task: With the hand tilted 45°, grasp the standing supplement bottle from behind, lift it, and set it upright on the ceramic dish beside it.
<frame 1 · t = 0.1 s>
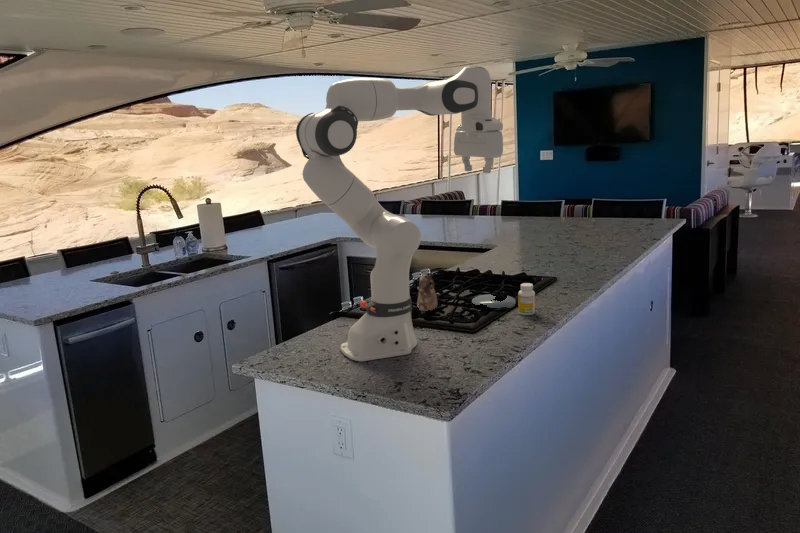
hand: (477, 172, 184), 48 cm above the table, tool pointing down, fingers open, 8 cm apart
figurine: (427, 308, 214), on the table
supplement bottle: (526, 313, 205), on the table
dish: (493, 303, 215), on the table
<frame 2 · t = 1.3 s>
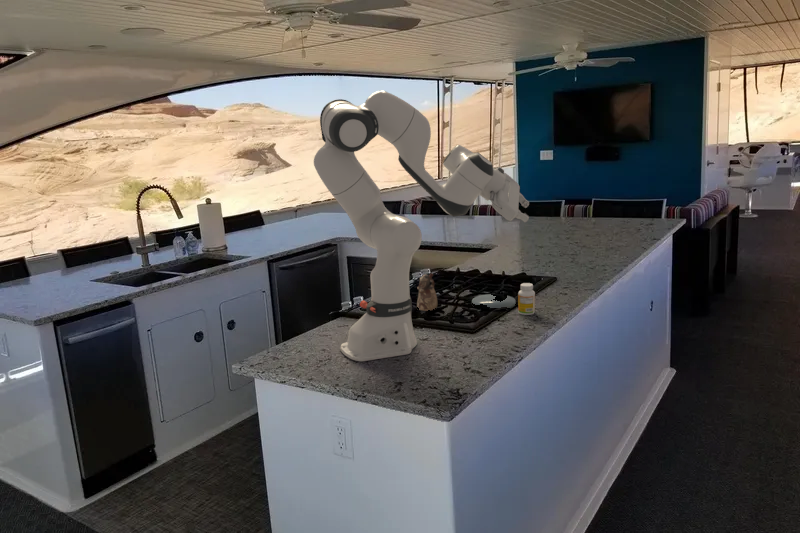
hand: (527, 212, 186), 35 cm above the table, tool tilted 50°, fingers open, 8 cm apart
nothing on the table moved.
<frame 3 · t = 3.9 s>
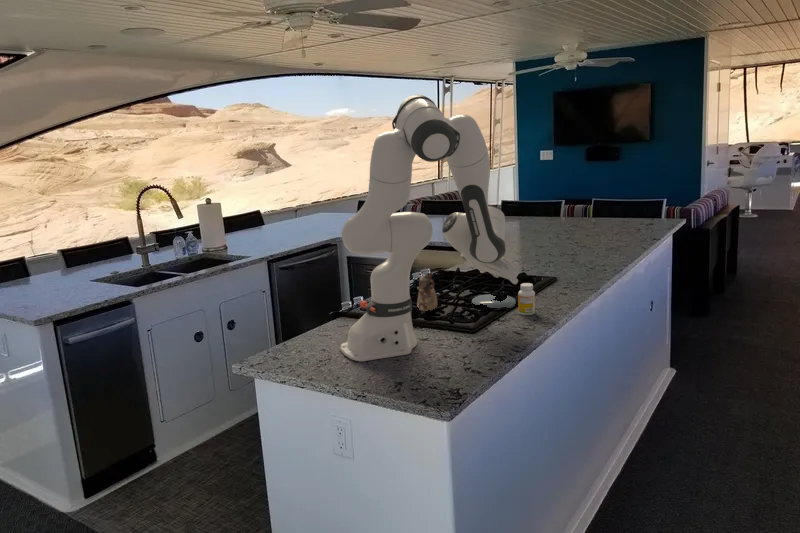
hand: (506, 278, 196), 13 cm above the table, tool tilted 45°, fingers open, 8 cm apart
nothing on the table moved.
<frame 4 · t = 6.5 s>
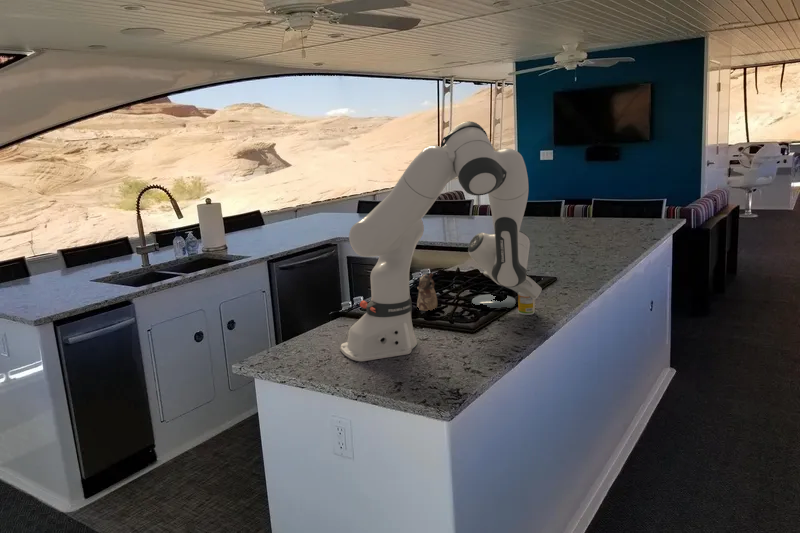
hand: (528, 295, 203), 6 cm above the table, tool tilted 45°, fingers closed on supplement bottle, 5 cm apart
supplement bottle: (526, 313, 205), on the table, touching gripper
everything else where it was.
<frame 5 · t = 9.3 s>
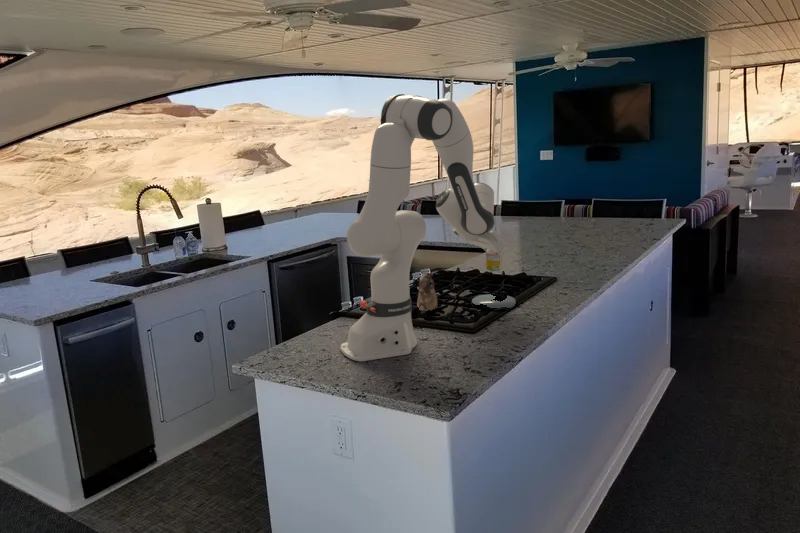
hand: (495, 252, 211), 18 cm above the table, tool tilted 45°, fingers closed on supplement bottle, 5 cm apart
supplement bottle: (494, 271, 212), point 12 cm above the table, touching gripper
everything else where it was.
when the fingers open (9 cm above the table, at t = 12.1 s): supplement bottle stays where it is, resting on dish.
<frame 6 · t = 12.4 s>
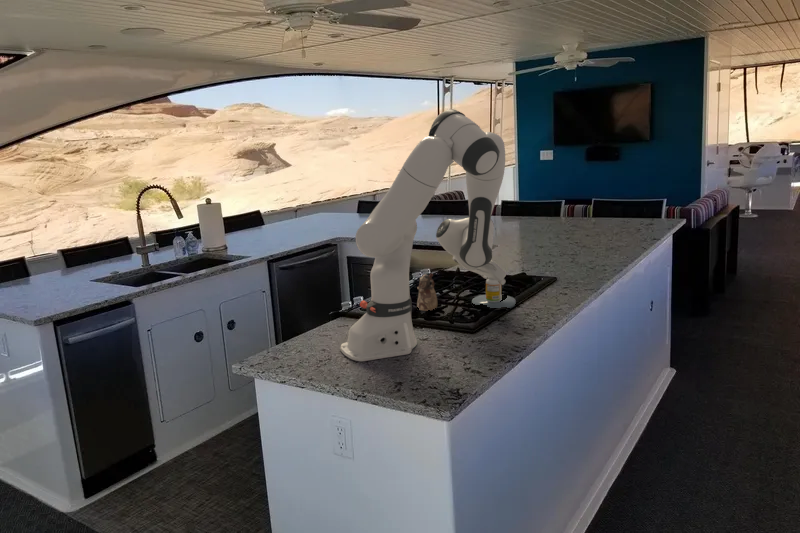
hand: (495, 279, 213), 9 cm above the table, tool tilted 45°, fingers open, 8 cm apart
supplement bottle: (493, 300, 215), point 1 cm above the table, touching dish
everything else where it was.
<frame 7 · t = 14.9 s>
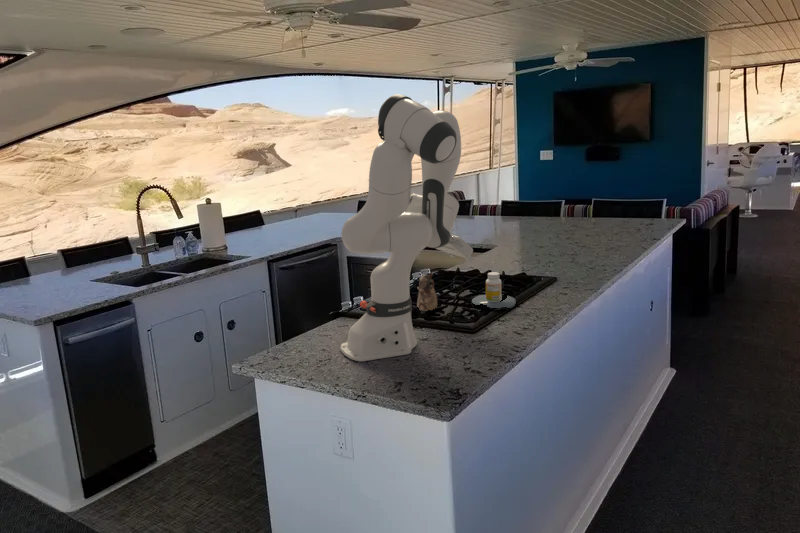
hand: (462, 258, 205), 18 cm above the table, tool tilted 45°, fingers open, 8 cm apart
nothing on the table moved.
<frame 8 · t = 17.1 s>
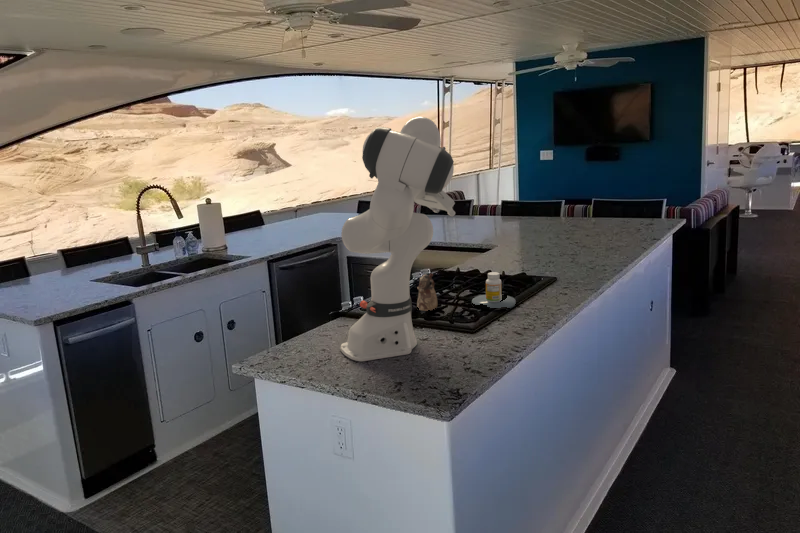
hand: (445, 212, 203), 33 cm above the table, tool tilted 45°, fingers open, 8 cm apart
nothing on the table moved.
at the end: supplement bottle inside the target area on the dish (0.1 cm from its centre), point 1.0 cm above the dish's base; supplement bottle tilted 0°; the gripper is holding nothing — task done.
